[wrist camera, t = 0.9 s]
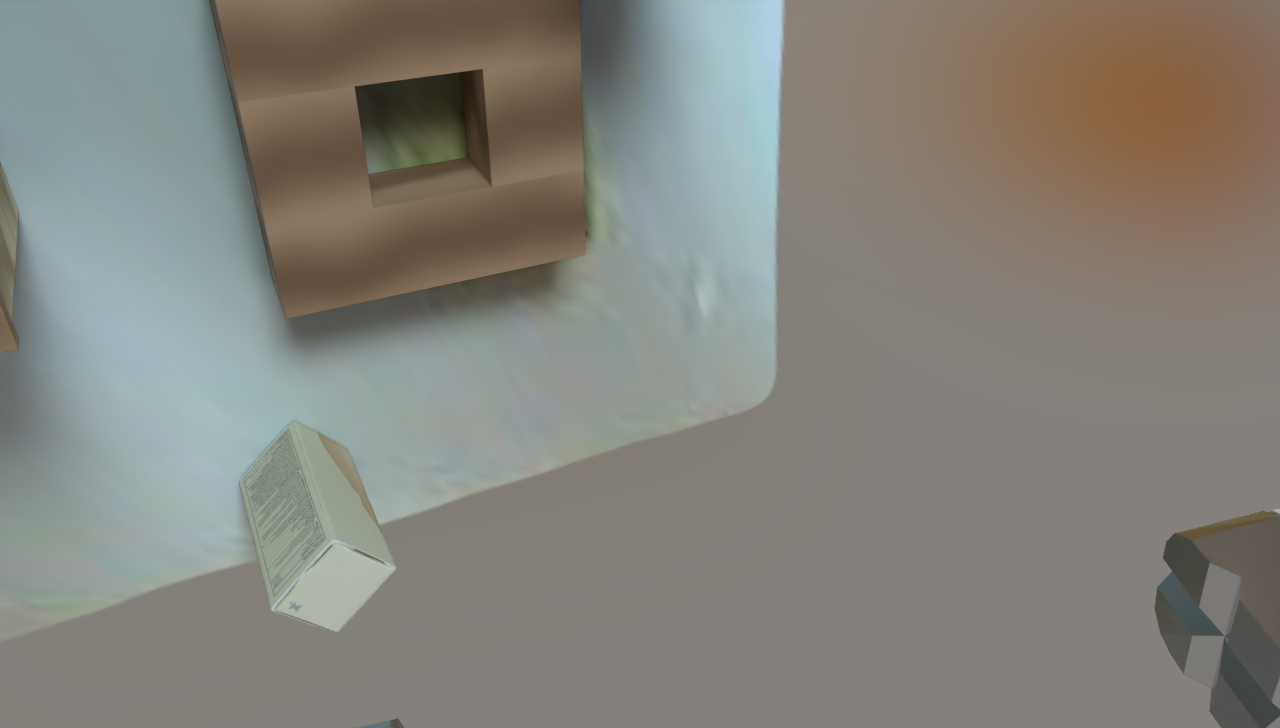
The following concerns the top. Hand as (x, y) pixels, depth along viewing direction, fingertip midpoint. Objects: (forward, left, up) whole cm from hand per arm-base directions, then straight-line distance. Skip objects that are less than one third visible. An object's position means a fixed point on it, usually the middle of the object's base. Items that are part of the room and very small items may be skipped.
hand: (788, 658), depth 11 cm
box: (+30, -3, -44) cm, 53 cm away
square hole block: (+10, +6, -44) cm, 45 cm away
